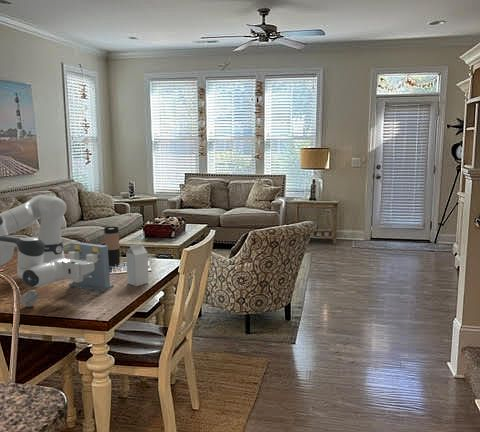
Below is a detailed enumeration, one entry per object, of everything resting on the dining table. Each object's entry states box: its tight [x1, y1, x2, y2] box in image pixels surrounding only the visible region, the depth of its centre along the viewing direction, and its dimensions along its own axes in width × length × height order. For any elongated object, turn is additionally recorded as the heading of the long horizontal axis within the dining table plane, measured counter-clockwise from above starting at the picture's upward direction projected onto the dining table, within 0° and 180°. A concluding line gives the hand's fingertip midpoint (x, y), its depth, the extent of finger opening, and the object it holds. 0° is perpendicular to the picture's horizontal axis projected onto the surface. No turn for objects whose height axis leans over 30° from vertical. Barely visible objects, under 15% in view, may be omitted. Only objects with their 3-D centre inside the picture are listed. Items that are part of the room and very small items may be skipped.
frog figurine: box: [20, 289, 39, 308], centre depth 194 cm, size 6×7×7 cm
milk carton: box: [125, 242, 150, 287], centre depth 223 cm, size 7×7×19 cm
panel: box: [68, 241, 115, 292], centre depth 219 cm, size 20×8×20 cm, turn 63°
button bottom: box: [71, 273, 91, 283], centre depth 216 cm, size 4×10×4 cm, turn 153°
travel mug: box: [103, 226, 121, 266], centre depth 258 cm, size 8×8×20 cm
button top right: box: [86, 253, 100, 263], centre depth 215 cm, size 4×10×4 cm, turn 153°
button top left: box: [67, 250, 82, 260], centre depth 220 cm, size 4×10×4 cm, turn 153°
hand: (86, 261), depth 209 cm, fingers closed
